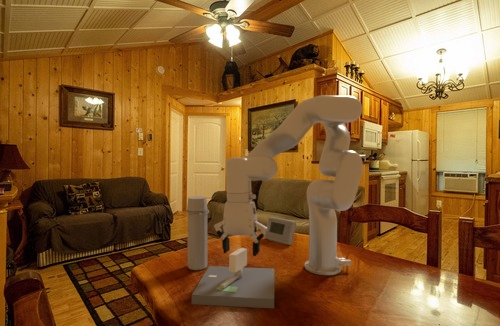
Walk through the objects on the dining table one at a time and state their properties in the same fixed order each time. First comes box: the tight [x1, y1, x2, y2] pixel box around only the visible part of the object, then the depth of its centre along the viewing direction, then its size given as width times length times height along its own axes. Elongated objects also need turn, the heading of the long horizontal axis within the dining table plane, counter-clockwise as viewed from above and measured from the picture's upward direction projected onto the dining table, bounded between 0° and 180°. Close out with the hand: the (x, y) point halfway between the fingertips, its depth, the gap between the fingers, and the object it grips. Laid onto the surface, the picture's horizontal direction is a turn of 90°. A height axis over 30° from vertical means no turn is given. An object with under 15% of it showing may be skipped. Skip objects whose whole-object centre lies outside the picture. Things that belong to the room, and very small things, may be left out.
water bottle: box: [185, 195, 210, 271], centre depth 99 cm, size 9×8×25 cm
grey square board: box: [191, 265, 275, 309], centre depth 83 cm, size 22×20×3 cm
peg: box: [220, 247, 248, 288], centre depth 83 cm, size 12×2×8 cm, turn 152°
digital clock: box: [264, 216, 297, 246], centre depth 131 cm, size 16×9×11 cm, turn 34°
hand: (240, 253), depth 86 cm, fingers open, 9 cm apart
